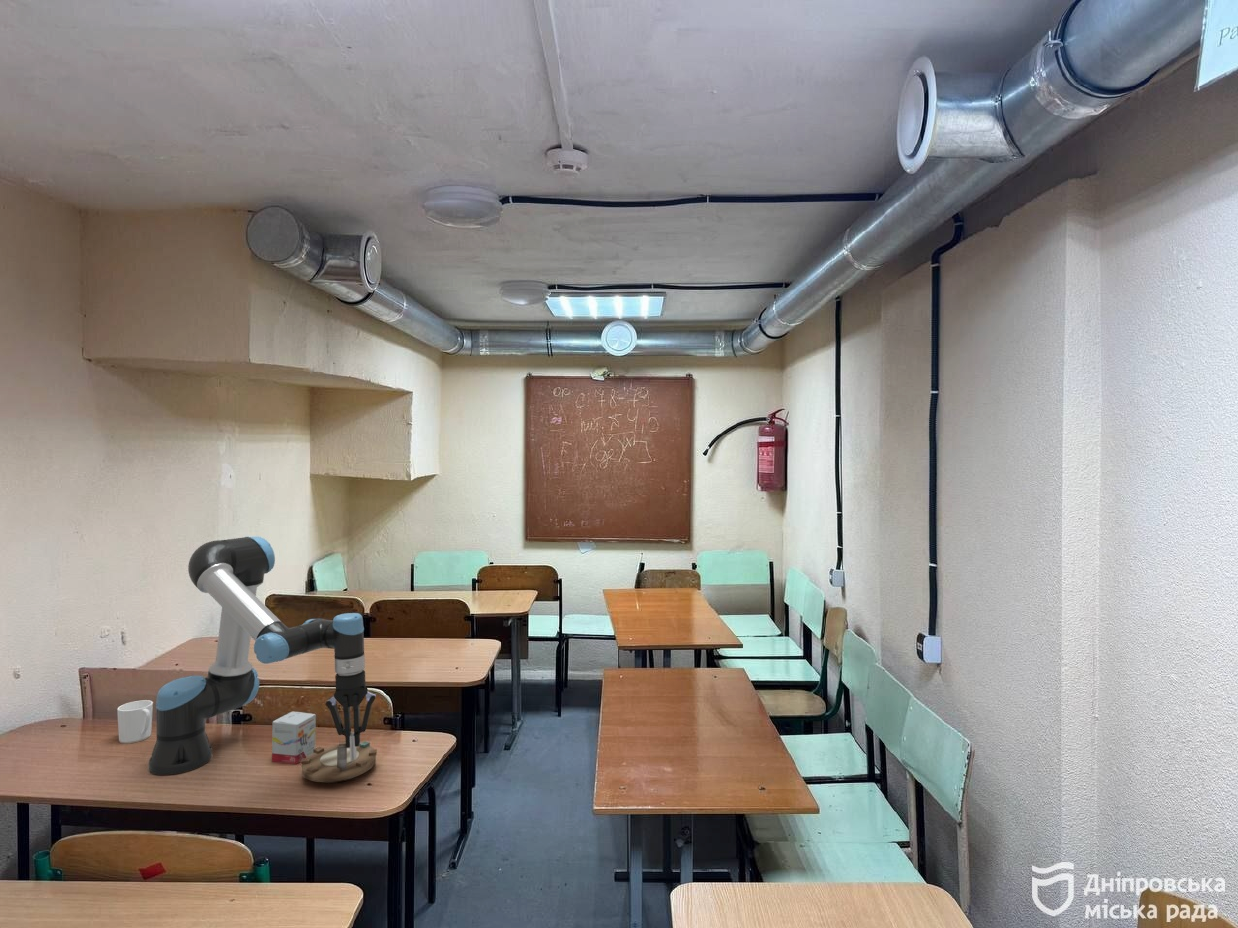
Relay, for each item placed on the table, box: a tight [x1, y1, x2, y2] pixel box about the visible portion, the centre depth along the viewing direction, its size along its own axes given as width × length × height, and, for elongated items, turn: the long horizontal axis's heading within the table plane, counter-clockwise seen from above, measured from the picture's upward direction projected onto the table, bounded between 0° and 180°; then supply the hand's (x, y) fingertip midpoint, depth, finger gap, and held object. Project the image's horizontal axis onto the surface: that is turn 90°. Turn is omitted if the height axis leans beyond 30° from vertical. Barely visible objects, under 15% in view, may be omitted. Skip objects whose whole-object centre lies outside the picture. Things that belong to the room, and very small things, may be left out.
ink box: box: [271, 711, 317, 765], centre depth 190 cm, size 9×9×12 cm
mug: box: [116, 699, 154, 745], centre depth 201 cm, size 11×9×10 cm
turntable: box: [300, 740, 378, 783], centre depth 181 cm, size 19×19×8 cm
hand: (353, 758), depth 175 cm, fingers closed
